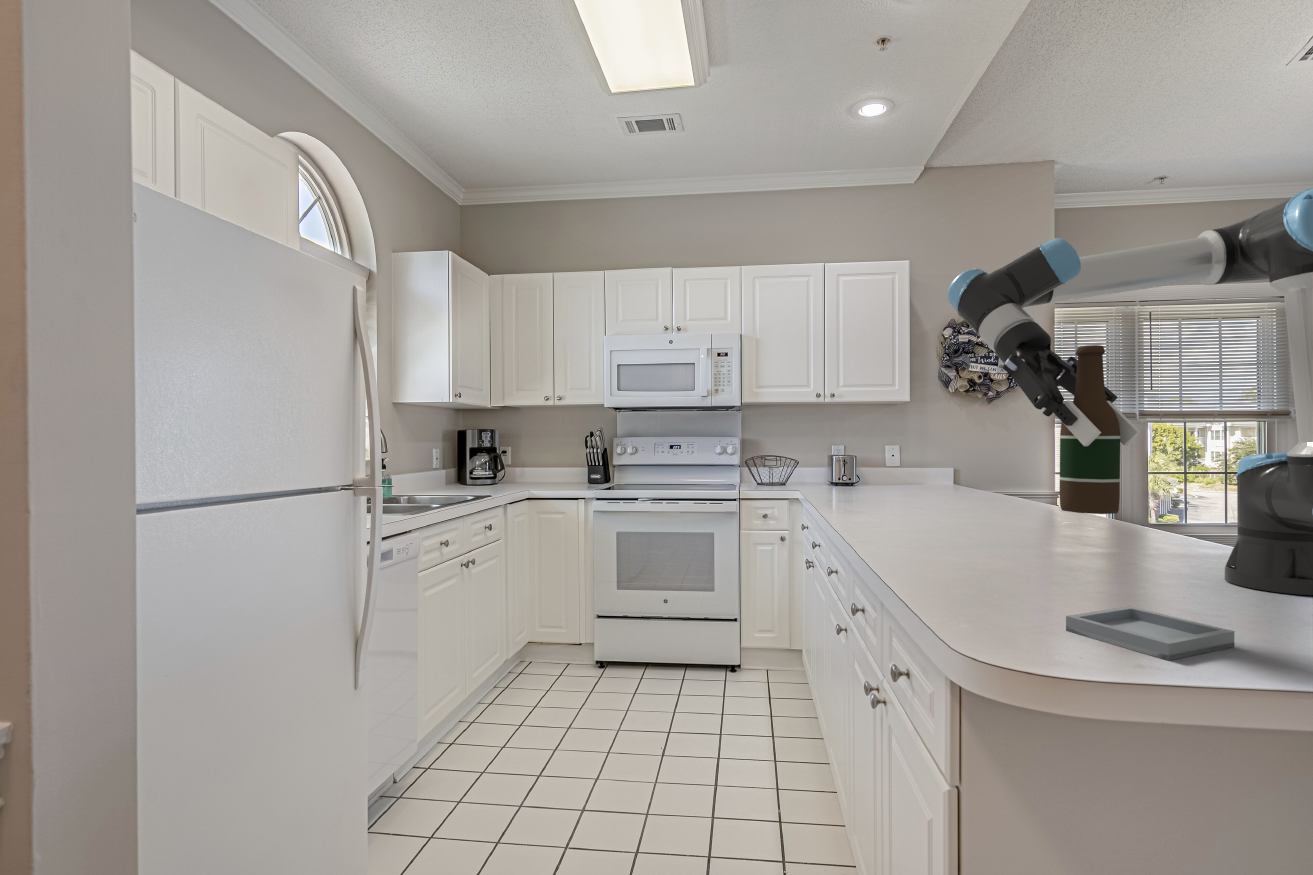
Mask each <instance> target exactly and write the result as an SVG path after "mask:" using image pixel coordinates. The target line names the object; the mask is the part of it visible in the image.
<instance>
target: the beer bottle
mask: <svg viewBox="0 0 1313 875" xmlns="http://www.w3.org/2000/svg"><path fill="white" fill-rule="evenodd" d="M1105 353H1106V350H1105V347H1104V346H1103V345H1101V344H1100V345H1099V344H1092V345H1091V344H1090V345H1089V344H1088V345H1080V346H1078V347H1077V348H1076V351H1075V356H1077V361H1078V362H1077V375H1076V388H1075V395H1073V401H1072V403H1073V404H1074V405H1075V406H1076V407H1077V408H1078V409H1079V410H1080V411H1081V412H1082V413H1083V414H1084V415H1085V416H1086V417H1087V418H1088V419H1089V420H1090V421H1091V422H1092V423H1093V425H1094V426H1095V427H1096V428H1097V429H1098V430H1099V431H1100V432H1101V433H1100V434H1099V435H1098V437H1097V438H1096V439H1095V440H1094V441H1093V442H1092V443H1091V444H1090V445H1089V446H1083V444H1082V443H1081V442H1080V441H1079V440H1078V439H1077V438H1076V437H1075V436H1074V435H1073V434H1072V432H1071V431H1070V430H1069V429H1068V428H1067V427H1066V426H1065V425H1064V424H1063V423H1062V422H1061V421H1060V422H1061V423H1060V430H1059V431H1060V432H1059V506H1060V509H1061V511H1063V512H1070V513H1076V514H1092V515H1093V514H1094V515H1096V514H1097V515H1109V514H1110V515H1111V514H1113V515H1114V514H1118V512H1119V510H1120V498H1121V497H1120V495H1121V494H1120V493H1121V492H1120V491H1121V488H1120V487H1121V442H1120V425H1119V421H1118V419H1117V416H1116V414H1115V412H1114V410H1113V409H1112V408H1111V406H1110V405H1109V404H1108V402H1107V400H1106V395H1105V388H1104V386H1105V375H1104V372H1105V370H1104V358H1103V356H1104V354H1105Z"/></svg>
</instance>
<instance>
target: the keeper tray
mask: <svg viewBox="0 0 1313 875" xmlns="http://www.w3.org/2000/svg"><path fill="white" fill-rule="evenodd" d="M1065 631H1066V632H1070V633H1074V634H1076V635H1080V636H1083V637H1086V638H1087V637H1088V638H1091V639H1094V640H1098V641H1100V642H1104V643H1108V644H1110V645H1111V644H1112V645H1115V646H1118V647H1120V648H1121V647H1122V648H1124V649H1128V650H1132V651H1135V652H1137V653H1140V654H1141V653H1142V654H1145V655H1148V656H1152V657H1155V658H1159V659H1162V660H1166V661H1174V660H1177V659H1181V658H1182V659H1183V658H1187V657H1192V656H1197V655H1201V654H1202V655H1203V654H1207V653H1211V652H1217V651H1222V650H1225V649H1226V650H1227V649H1230V648H1234V647H1235V630H1231V629H1226V628H1223V627H1218V626H1213V625H1210V624H1206V623H1201V622H1197V621H1193V620H1188V619H1184V618H1181V617H1176V616H1171V615H1168V614H1164V613H1160V612H1159V613H1158V612H1157V611H1151V610H1145V609H1143V608H1138V607H1133V606H1122V607H1115V608H1114V607H1113V608H1109V609H1101V610H1098V611H1097V610H1096V611H1095V610H1094V611H1089V612H1083V613H1082V612H1081V613H1077V614H1070V615H1065Z"/></svg>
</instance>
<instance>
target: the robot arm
mask: <svg viewBox="0 0 1313 875" xmlns="http://www.w3.org/2000/svg"><path fill="white" fill-rule="evenodd" d="M1263 280H1268V281H1269V286H1270V287H1271V288H1273V289H1275V290H1277V291H1279V292H1281V293H1282V296H1284V298H1283V299H1284V305H1285V307H1284V309H1285V318H1286V328H1287V336H1288V338H1287V339H1288V340H1287V341H1288V349H1289V358H1290V359H1289V360H1290V368H1291V379H1292V389H1293V398H1294V410H1295V418H1296V419H1295V420H1296V427H1297V439H1298V441H1297V443H1296V445H1295V446H1294V447H1293V448H1291V449H1290V450H1289V451H1288V452H1275V453H1273V452H1272V453H1259V454H1249V455H1246V456H1244V457H1242V458H1241V459H1239V461H1238V464H1237V472H1236V476H1235V477H1236V479H1235V480H1236V482H1237V487H1236V488H1237V489H1236V490H1237V497H1236V498H1237V500H1236V502H1237V510H1236V512H1237V515H1236V516H1237V521H1236V522H1237V524H1236V525H1237V534H1236V535H1237V537H1236V542H1235V543H1234V545H1233V548H1232V549H1231V553H1230V554H1229V556H1228V560H1227V561H1226V563H1225V566H1224V580H1225V581H1226V582H1228V583H1230V584H1233V585H1236V586H1240V587H1245V588H1249V589H1254V590H1259V591H1260V590H1261V591H1266V592H1267V591H1268V592H1272V593H1281V594H1291V595H1302V596H1313V187H1312V188H1308V189H1305V190H1303V191H1301V192H1299V193H1297V194H1295V195H1293V197H1291V198H1288V199H1287V200H1285V201H1283V202H1280V203H1278V204H1276V205H1274V206H1272V207H1270V208H1268V209H1267V210H1266V209H1265V210H1264V211H1262V212H1259V213H1257V214H1255V215H1253V216H1251V217H1248V218H1246V219H1244V220H1242V221H1239V222H1236V223H1234V224H1230V225H1227V226H1224V227H1220V228H1219V227H1218V228H1214V229H1208V230H1205V231H1204V230H1203V232H1201V233H1200V234H1199V235H1198V236H1197V237H1195V238H1188V239H1184V240H1183V239H1182V240H1176V241H1170V242H1165V243H1157V244H1152V245H1146V246H1141V247H1140V246H1139V247H1133V248H1128V249H1121V250H1115V251H1110V252H1108V251H1107V252H1102V253H1098V254H1091V255H1084V256H1079V254H1078V253H1077V251H1076V249H1075V248H1074V246H1073V245H1072V244H1071V243H1070V242H1069V241H1067V240H1066V239H1064V238H1061V237H1060V238H1059V237H1055V238H1053V239H1051V240H1049V241H1047V242H1045V243H1043V244H1038V246H1037V247H1035V248H1034V249H1032V250H1030V251H1028V252H1026V253H1025V254H1023V255H1021V256H1019V257H1017V258H1016V259H1014V260H1013V261H1011V262H1009V263H1007V264H1006V265H1004V266H1002V267H1000V268H998V269H995V270H993V271H991V272H990V273H988V272H987V271H984V270H983V269H981V268H974V269H966V270H965V271H963V272H961V273H959V274H958V275H957V276H956V277H955V278H954V279H953V280H952V282H951V283H950V285H949V287H948V290H947V299H948V302H949V303H950V305H951V306H952V308H953V309H954V310H955V311H956V312H957V314H958V316H959V317H960V318H962V319H963V320H964V321H965V322H966V323H967V325H969V326H970V327H971V329H972V330H974V332H975V333H977V335H978V336H979V337H980V338H981V339H982V340H983V342H985V343H986V344H987V348H988V349H990V350H991V351H993V352H994V353H995V354H996V356H997V357H998V359H999V360H1000V361H1001V362H1002V363H1003V365H1001V366H1002V367H1001V368H1002V369H1003V370H1004V371H1005V372H1006V373H1008V375H1010V376H1011V378H1012V379H1013V380H1014V382H1015V383H1016V384H1017V386H1018V387H1019V388H1020V389H1021V391H1022V392H1023V393H1024V395H1025V396H1026V397H1027V399H1028V400H1029V401H1030V403H1031V404H1032V406H1034V408H1035V409H1037V410H1042V409H1043V408H1044V410H1043V412H1042V414H1043V415H1044V416H1046V417H1051V416H1052V415H1053V414H1054V415H1055V416H1056V417H1057V418H1058V419H1059V420H1060V422H1062V423H1063V424H1064V425H1065V426H1066V427H1067V428H1068V429H1069V430H1070V431H1071V432H1072V434H1073V435H1074V436H1075V437H1076V438H1077V439H1078V440H1079V441H1080V442H1081V443H1082V444H1083V446H1089V445H1090V444H1091V443H1092V442H1093V441H1094V440H1095V439H1096V438H1097V437H1098V435H1099V434H1100V433H1101V432H1100V431H1099V430H1098V429H1097V428H1096V427H1095V426H1094V425H1093V423H1092V422H1091V421H1090V420H1089V419H1088V418H1087V417H1086V416H1085V415H1084V414H1083V413H1082V412H1081V411H1080V410H1079V409H1078V408H1077V407H1076V406H1075V405H1074V404H1073V401H1072V400H1070V399H1069V400H1066V401H1065V398H1064V396H1063V394H1062V393H1061V391H1060V388H1059V387H1061V388H1063V389H1064V390H1066V391H1067V392H1068V393H1070V394H1071V396H1074V395H1075V388H1076V375H1077V362H1078V359H1077V358H1075V357H1074V356H1069V357H1068V358H1067V359H1066V360H1065V359H1062V358H1061V356H1060V355H1059V354H1057V353H1056V352H1054V351H1053V350H1051V345H1052V338H1051V336H1050V334H1049V332H1047V331H1046V330H1044V328H1043V327H1042V326H1040V324H1038V322H1036V320H1035V319H1034V318H1033V317H1032V316H1031V315H1030V314H1029V313H1028V312H1027V311H1025V310H1024V308H1027V307H1032V306H1033V307H1035V306H1039V305H1041V306H1042V305H1045V304H1051V303H1058V302H1065V301H1071V300H1078V299H1085V298H1092V297H1098V296H1099V297H1100V296H1105V295H1111V294H1112V295H1113V294H1119V293H1128V292H1131V291H1132V292H1134V291H1138V290H1139V291H1140V290H1147V289H1153V288H1154V289H1155V288H1160V287H1167V286H1173V285H1181V284H1187V283H1195V282H1199V283H1201V284H1203V285H1204V286H1213V285H1221V284H1229V283H1231V284H1232V283H1242V282H1249V281H1250V282H1253V281H1263ZM1059 376H1060V377H1059ZM1058 377H1059V378H1058ZM1104 388H1105V395H1106V400H1107V402H1108V404H1109V405H1110V406H1111V408H1112V409H1113V410H1114V412H1115V414H1116V416H1117V419H1118V421H1119V425H1120V444H1121V445H1123V446H1128V445H1129V444H1131V442H1133V441H1134V439H1136V437H1138V436H1139V435H1140V434H1141V433H1142V432H1141V430H1140V429H1138V427H1137V426H1136V425H1134V424H1133V422H1132V421H1130V420H1129V419H1128V418H1127V417H1126V416H1125V415H1124V414H1123V412H1121V411H1120V410H1119V408H1118V407H1117V406H1115V405H1114V404H1113V403H1114V402H1115V401H1116V400H1117V399H1118V396H1117V395H1116V394H1115V393H1114V392H1113V391H1112V390H1110V389H1109V388H1108V387H1107V386H1105V385H1104Z"/></svg>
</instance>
